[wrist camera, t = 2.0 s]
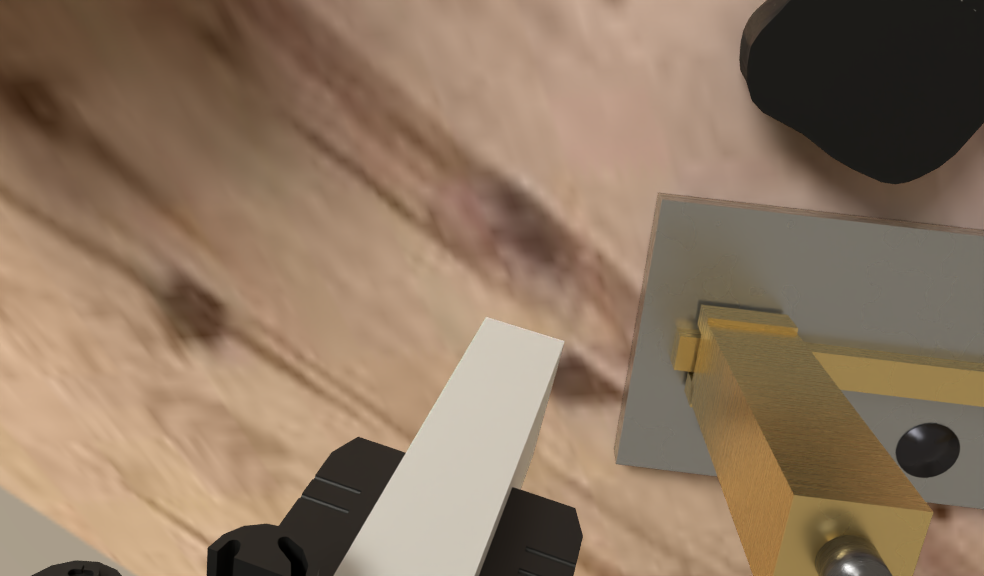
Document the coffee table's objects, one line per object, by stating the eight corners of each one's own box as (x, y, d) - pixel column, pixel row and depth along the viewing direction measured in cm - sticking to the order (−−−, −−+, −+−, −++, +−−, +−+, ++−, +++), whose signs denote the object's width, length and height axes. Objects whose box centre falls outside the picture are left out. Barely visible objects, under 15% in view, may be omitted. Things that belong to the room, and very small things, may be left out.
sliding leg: (701, 304, 34) (810, 515, 20) (787, 314, 33) (958, 534, 20) (675, 435, 36) (757, 711, 22) (756, 445, 35) (891, 728, 22)
